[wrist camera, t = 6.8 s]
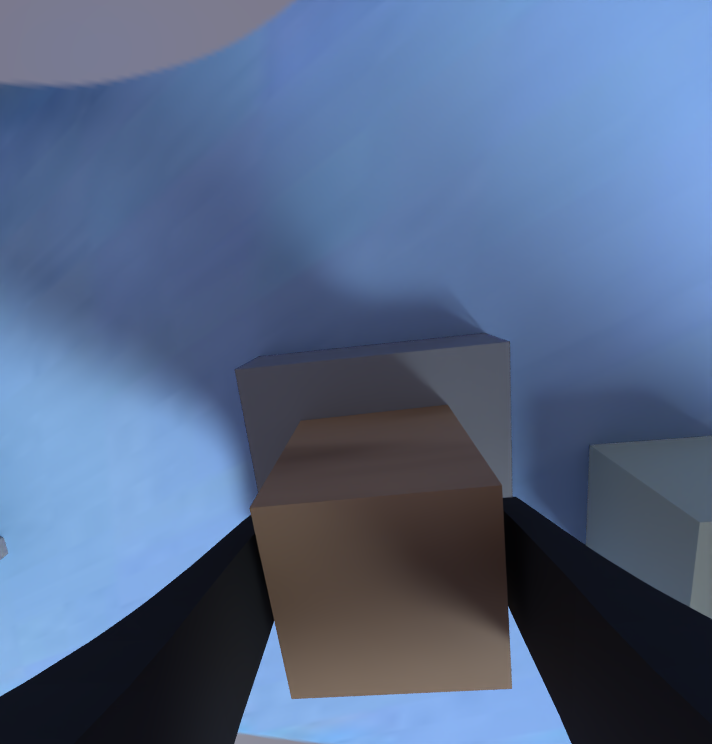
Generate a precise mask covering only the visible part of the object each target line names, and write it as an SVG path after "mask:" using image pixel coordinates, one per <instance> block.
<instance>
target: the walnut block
mask: <svg viewBox="0 0 712 744" xmlns="http://www.w3.org/2000/svg"><path fill="white" fill-rule="evenodd" d="M250 512H251V517H252V521H253V526H254V531H255V535H256V540H257V544H258V549H259V553H260V558H261V562H262V567H263V571H264V576H265V580H266V585H267V589H268V594H269V599H270V603H271V608H272V612H273V617H274V621H275V626H276V630H277V635H278V639H279V644H280V648H281V653H282V657H283V662H284V667H285V671H286V676H287V680H288V685H289V689H290V694H291V698H292V699H300V698H322V697H344V696H365V695H387V694H408V693H430V692H451V691H473V690H495V689H512V678H511V658H510V637H509V617H508V597H507V576H506V556H505V535H504V515H503V495H502V484H501V483H500V481H499V480H498V478H497V477H496V475H495V474H494V472H493V471H492V470H491V468H490V467H489V465H488V464H487V462H486V461H485V459H484V458H483V456H482V455H481V453H480V452H479V450H478V449H477V447H476V446H475V444H474V443H473V441H472V440H471V438H470V437H469V435H468V434H467V432H466V431H465V430H464V428H463V427H462V425H461V424H460V422H459V421H458V419H457V418H456V416H455V415H454V413H453V412H452V410H451V409H450V407H449V406H448V405H440V406H431V407H422V408H413V409H403V410H394V411H385V412H376V413H367V414H358V415H349V416H340V417H330V418H321V419H312V420H303V421H300V423H299V424H298V426H297V428H296V429H295V431H294V433H293V435H292V436H291V438H290V440H289V441H288V443H287V445H286V447H285V448H284V450H283V452H282V453H281V455H280V457H279V458H278V460H277V462H276V464H275V465H274V467H273V469H272V470H271V472H270V474H269V476H268V477H267V479H266V481H265V482H264V484H263V486H262V488H261V489H260V491H259V493H258V494H257V496H256V498H255V500H254V501H253V503H252V505H251V506H250Z"/></svg>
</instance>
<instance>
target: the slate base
mask: <svg viewBox="0 0 712 744" xmlns="http://www.w3.org/2000/svg"><path fill="white" fill-rule="evenodd" d="M235 374H236V379H237V384H238V389H239V395H240V400H241V405H242V410H243V415H244V421H245V426H246V431H247V436H248V441H249V447H250V452H251V457H252V462H253V468H254V473H255V478H256V483H257V488H258V493H259V491H260V489H261V488H262V486H263V484H264V482H265V481H266V479H267V477H268V476H269V474H270V472H271V470H272V469H273V467H274V465H275V464H276V462H277V460H278V458H279V457H280V455H281V453H282V452H283V450H284V448H285V447H286V445H287V443H288V441H289V440H290V438H291V436H292V435H293V433H294V431H295V429H296V428H297V426H298V424H299V423H300V421H303V420H312V419H321V418H330V417H340V416H349V415H358V414H367V413H376V412H385V411H394V410H403V409H413V408H422V407H431V406H440V405H448V406H449V407H450V409H451V410H452V412H453V413H454V415H455V416H456V418H457V419H458V421H459V422H460V424H461V425H462V427H463V428H464V430H465V431H466V432H467V434H468V435H469V437H470V438H471V440H472V441H473V443H474V444H475V446H476V447H477V449H478V450H479V452H480V453H481V455H482V456H483V458H484V459H485V461H486V462H487V464H488V465H489V467H490V468H491V470H492V471H493V472H494V474H495V475H496V477H497V478H498V480H499V481H500V483H501V484H502V495H503V498H506V497H512V442H511V382H510V342H509V341H506V340H503V339H501V338H498V337H495V336H492V335H489V334H487V333H481V334H471V335H462V336H452V337H442V338H433V339H423V340H413V341H404V342H394V343H384V344H375V345H365V346H355V347H346V348H336V349H327V350H317V351H307V352H298V353H288V354H278V355H269V356H259V357H257V358H255V359H253V360H252V361H250V362H248V363H246V364H244V365H242V366H241V367H239V368H237V369H235Z"/></svg>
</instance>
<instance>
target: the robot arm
mask: <svg viewBox="0 0 712 744" xmlns="http://www.w3.org/2000/svg"><path fill="white" fill-rule="evenodd" d="M503 515H504V535H505V556H506V576H507V597H508V607H509V609H510V611H511V613H512V615H513V618H514V620H515V622H516V624H517V626H518V628H519V630H520V633H521V635H522V637H523V639H524V641H525V643H526V645H527V648H528V650H529V652H530V654H531V656H532V658H533V660H534V662H535V665H536V667H537V669H538V671H539V673H540V675H541V677H542V679H543V681H544V684H545V686H546V688H547V690H548V692H549V694H550V696H551V698H552V701H553V703H554V705H555V707H556V709H557V711H558V713H559V716H560V718H561V720H562V722H563V725H564V727H565V729H566V732H567V734H568V736H569V739H570V741H571V743H572V744H712V619H711V618H709V617H707V616H705V615H703V614H701V613H700V612H698V611H696V610H694V609H692V608H690V607H689V606H687V605H685V604H683V603H681V602H679V601H677V600H676V599H674V598H672V597H670V596H668V595H666V594H665V593H663V592H661V591H659V590H657V589H656V588H654V587H652V586H650V585H649V584H647V583H645V582H644V581H642V580H640V579H638V578H637V577H635V576H634V575H632V574H630V573H629V572H627V571H625V570H624V569H622V568H621V567H619V566H617V565H616V564H614V563H612V562H611V561H609V560H608V559H606V558H604V557H603V556H601V555H600V554H598V553H597V552H595V551H594V550H592V549H591V548H589V547H588V546H586V545H585V544H583V543H582V542H580V541H579V540H577V539H576V538H574V537H573V536H571V535H570V534H568V533H567V532H565V531H564V530H563V529H561V528H560V527H558V526H557V525H555V524H554V523H553V522H551V521H550V520H548V519H547V518H546V517H544V516H543V515H541V514H540V513H539V512H537V511H536V510H534V509H533V508H531V507H530V506H529V505H527V504H526V503H524V502H523V501H521V500H520V499H518V498H517V497H506V498H503ZM273 622H274V617H273V612H272V608H271V603H270V599H269V594H268V589H267V585H266V580H265V576H264V571H263V567H262V562H261V558H260V553H259V549H258V544H257V540H256V535H255V531H254V526H253V521H252V517H251V515H250V516H249V517H247V518H246V519H245V520H244V521H242V522H241V523H240V524H239V525H238V526H237V527H235V528H234V529H233V530H232V531H231V532H230V533H229V534H227V535H226V536H225V537H224V538H223V539H222V540H221V541H219V542H218V543H217V544H216V545H215V546H214V547H212V548H211V549H210V550H209V551H208V552H207V553H206V554H204V555H203V556H202V557H201V558H200V559H199V560H197V561H196V562H195V563H194V564H193V565H192V566H190V567H189V568H188V569H187V570H185V571H184V572H183V573H182V574H181V575H179V576H178V577H177V578H176V579H174V580H173V581H172V582H171V583H169V584H168V585H167V586H166V587H164V588H163V589H162V590H161V591H159V592H158V593H157V594H156V595H154V596H153V597H152V598H151V599H149V600H148V601H147V602H145V603H144V604H143V605H141V606H140V607H139V608H137V609H136V610H135V611H133V612H132V613H130V614H129V615H128V616H126V617H125V618H123V619H122V620H121V621H119V622H118V623H116V624H115V625H113V626H112V627H111V628H109V629H108V630H106V631H105V632H103V633H102V634H100V635H99V636H98V637H96V638H95V639H93V640H92V641H90V642H89V643H87V644H85V645H84V646H82V647H81V648H79V649H77V650H76V651H74V652H73V653H71V654H69V655H68V656H66V657H65V658H63V659H62V660H60V661H58V662H57V663H55V664H54V665H52V666H50V667H49V668H47V669H46V670H44V671H42V672H41V673H39V674H38V675H36V676H34V677H33V678H31V679H30V680H28V681H26V682H25V683H23V684H21V685H19V686H18V687H16V688H14V689H13V690H11V691H9V692H7V693H6V694H4V695H2V696H0V744H234V742H235V739H236V736H237V732H238V729H239V726H240V722H241V719H242V716H243V713H244V710H245V707H246V704H247V701H248V698H249V695H250V692H251V689H252V686H253V683H254V680H255V677H256V674H257V671H258V668H259V665H260V662H261V659H262V656H263V653H264V650H265V647H266V644H267V641H268V638H269V635H270V632H271V629H272V626H273Z"/></svg>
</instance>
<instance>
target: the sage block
mask: <svg viewBox="0 0 712 744" xmlns="http://www.w3.org/2000/svg"><path fill="white" fill-rule="evenodd" d="M586 546H588V547H589V548H591V549H592V550H594V551H595V552H597V553H598V554H600V555H601V556H603V557H604V558H606V559H608V560H609V561H611V562H612V563H614V564H616V565H617V566H619V567H621V568H622V569H624V570H625V571H627V572H629V573H630V574H632V575H634V576H635V577H637V578H638V579H640V580H642V581H644V582H645V583H647V584H649V585H650V586H652V587H654V588H656V589H657V590H659V591H661V592H663V593H665V594H666V595H668V596H670V597H672V598H674V599H676V600H677V601H679V602H681V603H683V604H685V605H687V606H689V607H690V608H692V609H694V610H696V611H698V612H700V613H701V614H703V615H705V616H707V617H709V618H711V619H712V436H700V437H687V438H674V439H660V440H647V441H634V442H620V443H607V444H594V445H589V470H588V497H587V524H586Z"/></svg>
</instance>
